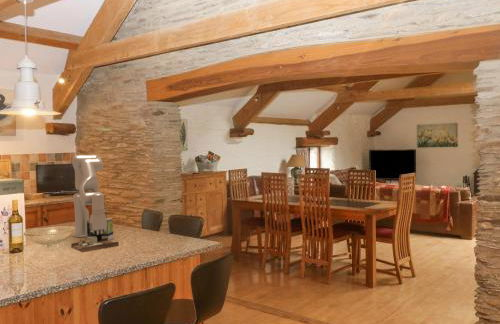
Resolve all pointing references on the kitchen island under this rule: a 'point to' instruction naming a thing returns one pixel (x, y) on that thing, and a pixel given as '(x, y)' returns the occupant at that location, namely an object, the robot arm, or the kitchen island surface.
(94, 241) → the panel
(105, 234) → the tea box
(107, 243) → the board
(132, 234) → the kitchen island surface
